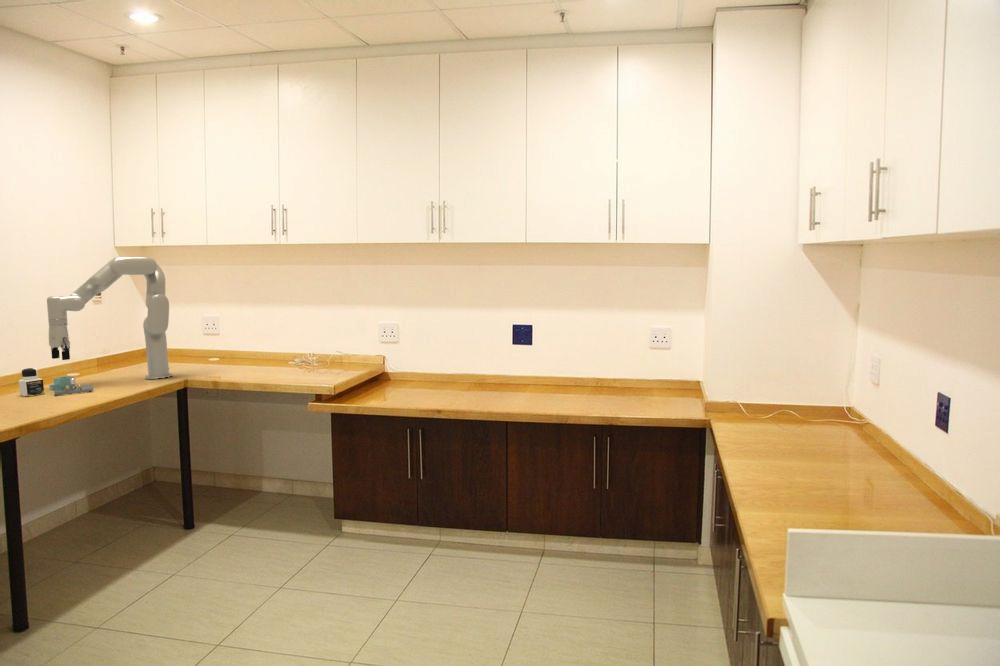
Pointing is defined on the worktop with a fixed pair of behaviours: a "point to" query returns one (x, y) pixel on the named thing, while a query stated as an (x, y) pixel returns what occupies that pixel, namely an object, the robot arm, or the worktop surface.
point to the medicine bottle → (30, 383)
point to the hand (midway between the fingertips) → (60, 359)
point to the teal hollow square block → (61, 382)
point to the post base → (73, 388)
